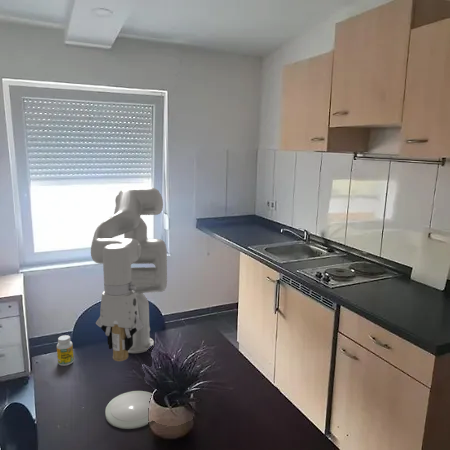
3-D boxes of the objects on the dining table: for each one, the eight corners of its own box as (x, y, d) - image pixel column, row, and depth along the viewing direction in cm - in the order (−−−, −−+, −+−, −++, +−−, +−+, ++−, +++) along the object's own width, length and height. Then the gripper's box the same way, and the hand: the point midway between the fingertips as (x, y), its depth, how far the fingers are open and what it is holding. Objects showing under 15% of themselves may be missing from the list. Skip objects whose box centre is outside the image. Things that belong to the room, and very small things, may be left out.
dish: (118, 392, 130) (118, 388, 129) (167, 397, 127) (167, 393, 127) (95, 425, 114) (95, 421, 114) (150, 431, 112) (150, 427, 112)
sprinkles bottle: (130, 359, 118) (129, 315, 116) (115, 363, 116) (113, 319, 113) (125, 352, 122) (124, 310, 120) (110, 356, 120) (108, 313, 117)
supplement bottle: (71, 357, 151) (69, 332, 149) (75, 363, 146) (74, 338, 145) (56, 361, 148) (54, 336, 146) (60, 367, 143) (58, 342, 141)
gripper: (151, 285, 117) (152, 344, 121) (96, 281, 120) (99, 339, 124) (141, 294, 110) (143, 357, 113) (83, 290, 113) (87, 351, 116)
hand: (120, 347), depth 118 cm, fingers closed on sprinkles bottle, 4 cm apart
